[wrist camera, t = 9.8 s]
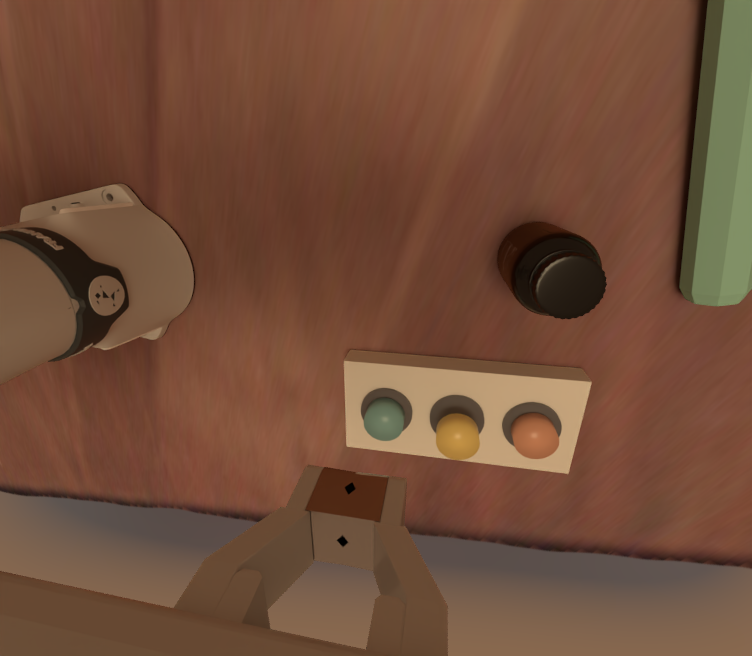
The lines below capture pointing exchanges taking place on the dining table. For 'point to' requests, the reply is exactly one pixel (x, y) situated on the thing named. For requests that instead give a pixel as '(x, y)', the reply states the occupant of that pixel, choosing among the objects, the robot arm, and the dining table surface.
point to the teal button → (384, 419)
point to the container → (721, 163)
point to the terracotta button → (534, 436)
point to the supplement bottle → (552, 270)
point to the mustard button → (457, 436)
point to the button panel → (465, 403)
